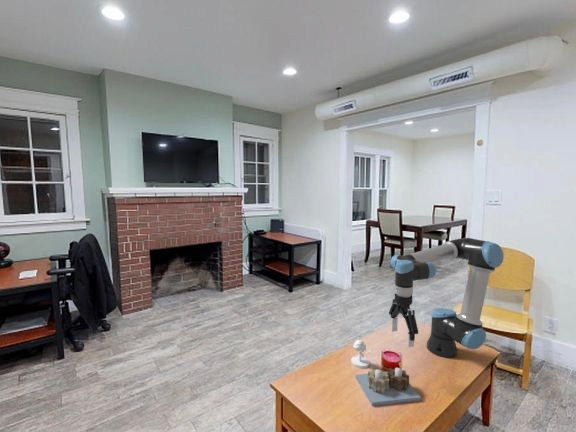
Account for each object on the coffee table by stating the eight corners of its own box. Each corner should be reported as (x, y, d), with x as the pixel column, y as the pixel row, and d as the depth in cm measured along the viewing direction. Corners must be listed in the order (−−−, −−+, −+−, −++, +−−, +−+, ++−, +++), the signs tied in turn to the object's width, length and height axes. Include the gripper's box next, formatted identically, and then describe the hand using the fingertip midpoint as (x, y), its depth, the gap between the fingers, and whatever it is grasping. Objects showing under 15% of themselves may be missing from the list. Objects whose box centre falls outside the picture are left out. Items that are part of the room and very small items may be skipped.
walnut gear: (401, 377, 138) (401, 367, 138) (412, 390, 130) (412, 379, 129) (383, 378, 137) (384, 368, 136) (393, 392, 128) (393, 381, 128)
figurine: (370, 369, 146) (371, 346, 145) (351, 366, 148) (352, 344, 147) (368, 358, 155) (369, 337, 154) (351, 356, 157) (352, 335, 156)
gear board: (398, 373, 143) (399, 357, 142) (420, 400, 126) (421, 381, 125) (355, 377, 140) (356, 360, 139) (372, 405, 122) (373, 386, 121)
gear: (377, 377, 138) (377, 367, 137) (392, 388, 130) (393, 378, 130) (363, 383, 133) (363, 373, 133) (378, 396, 126) (379, 385, 125)
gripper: (382, 285, 145) (381, 326, 148) (412, 306, 121) (410, 354, 123) (396, 284, 147) (395, 324, 149) (428, 304, 122) (426, 352, 125)
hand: (402, 338), depth 136 cm, fingers open, 13 cm apart
